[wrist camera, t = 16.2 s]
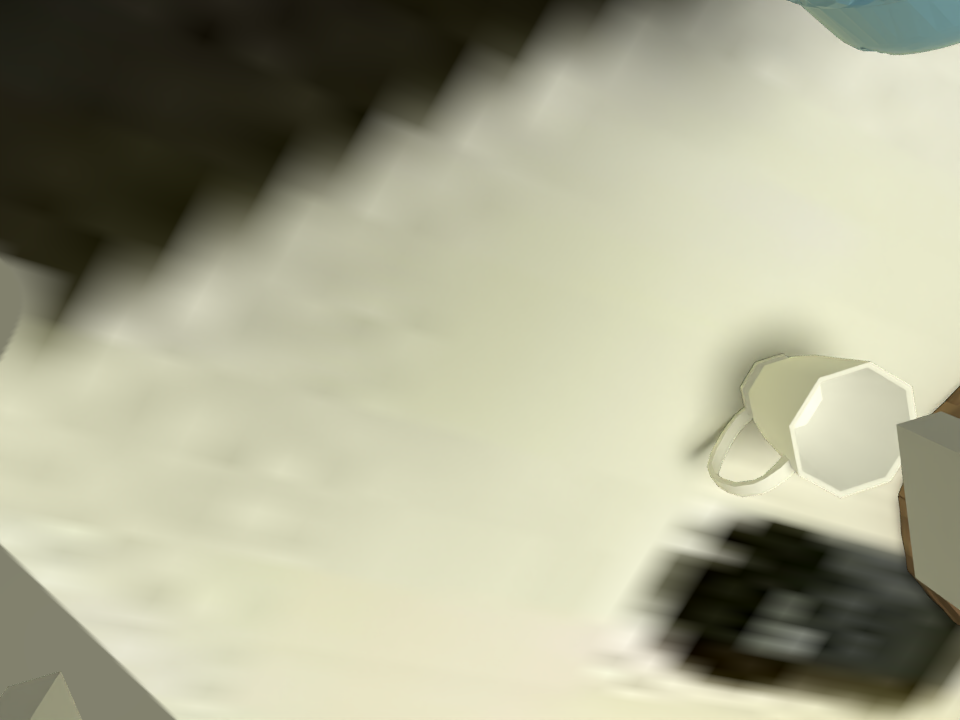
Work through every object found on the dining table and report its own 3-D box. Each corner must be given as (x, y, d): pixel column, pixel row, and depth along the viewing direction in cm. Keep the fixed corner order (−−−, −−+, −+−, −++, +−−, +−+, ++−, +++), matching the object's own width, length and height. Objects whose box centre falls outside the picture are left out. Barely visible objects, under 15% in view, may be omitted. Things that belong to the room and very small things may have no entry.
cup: (852, 396, 48) (946, 438, 40) (720, 500, 48) (788, 562, 40) (791, 306, 46) (878, 332, 38) (655, 415, 46) (713, 463, 38)
